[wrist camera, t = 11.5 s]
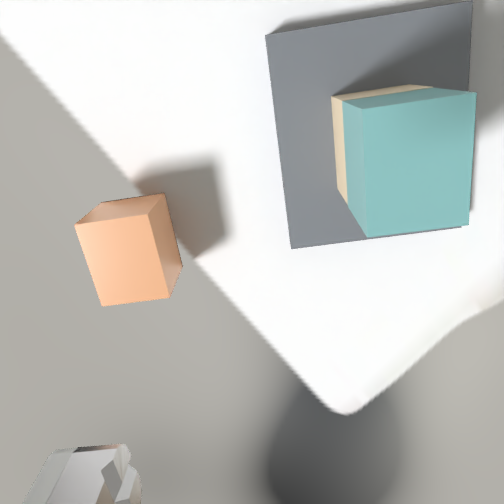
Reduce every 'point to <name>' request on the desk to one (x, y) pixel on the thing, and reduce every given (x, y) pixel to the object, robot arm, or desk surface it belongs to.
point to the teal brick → (409, 160)
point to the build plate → (351, 70)
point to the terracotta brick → (131, 249)
